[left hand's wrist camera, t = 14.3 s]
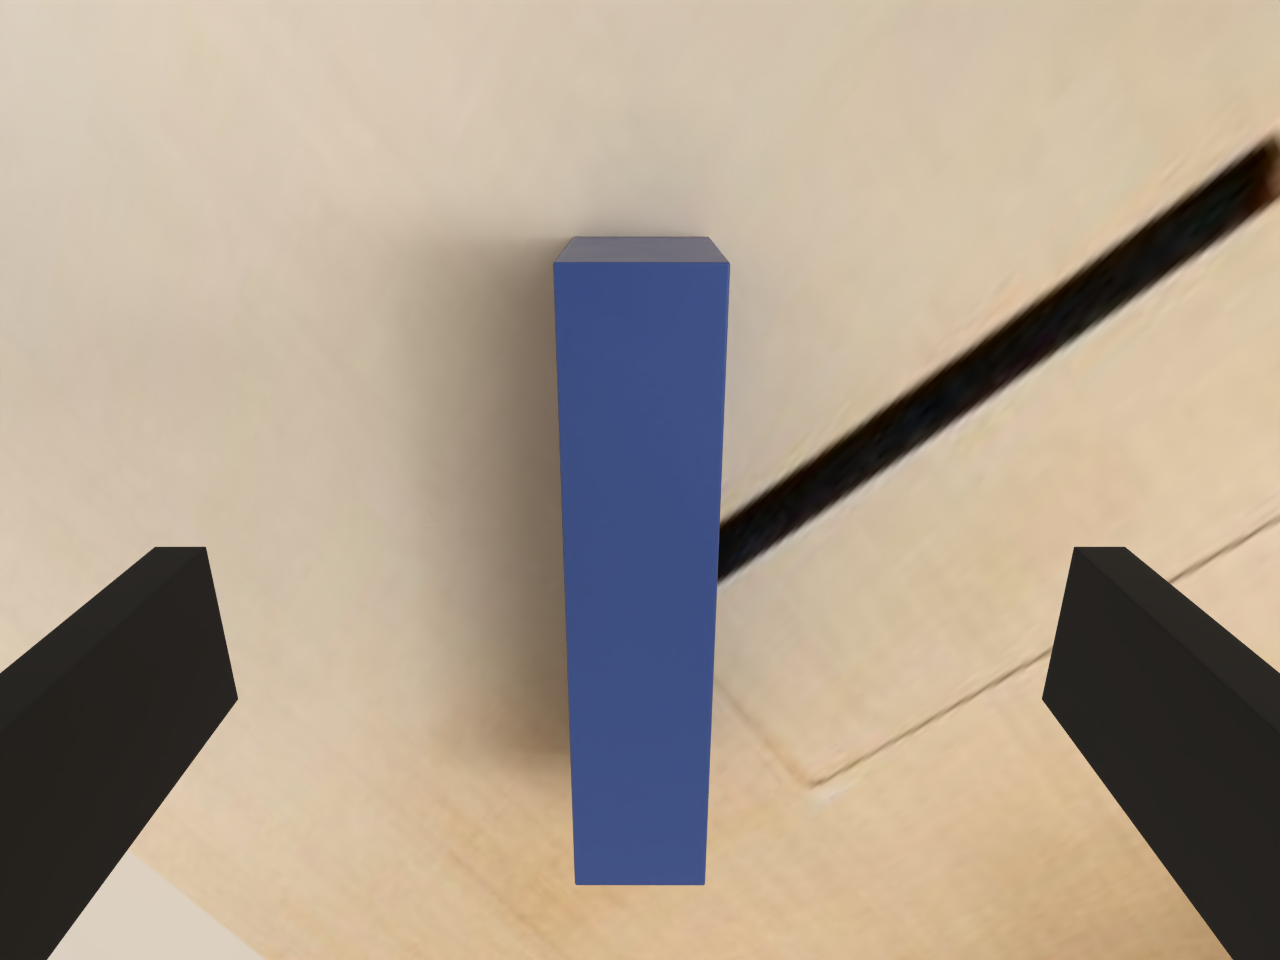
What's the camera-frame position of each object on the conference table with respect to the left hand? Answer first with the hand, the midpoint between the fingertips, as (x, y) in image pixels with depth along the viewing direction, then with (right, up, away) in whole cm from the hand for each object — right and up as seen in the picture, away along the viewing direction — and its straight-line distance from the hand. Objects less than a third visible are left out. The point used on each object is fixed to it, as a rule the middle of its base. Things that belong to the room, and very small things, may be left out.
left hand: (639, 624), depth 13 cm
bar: (0, 0, +26) cm, 26 cm away
